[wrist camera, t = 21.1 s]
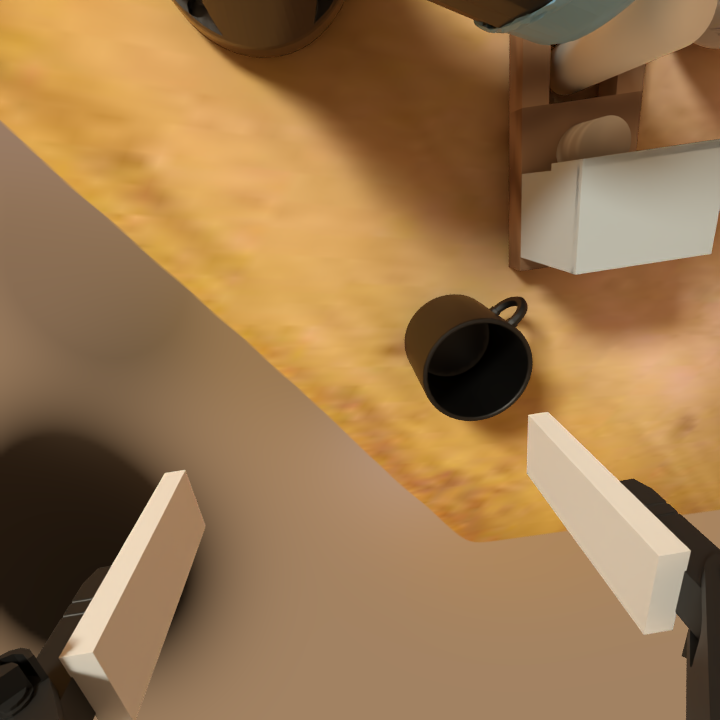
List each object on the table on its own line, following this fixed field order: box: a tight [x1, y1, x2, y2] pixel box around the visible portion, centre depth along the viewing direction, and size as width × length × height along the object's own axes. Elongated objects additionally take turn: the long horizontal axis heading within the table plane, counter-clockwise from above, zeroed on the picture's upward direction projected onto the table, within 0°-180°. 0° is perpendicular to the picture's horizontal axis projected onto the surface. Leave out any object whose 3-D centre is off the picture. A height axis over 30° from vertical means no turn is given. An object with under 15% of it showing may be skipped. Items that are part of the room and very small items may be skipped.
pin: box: [549, 0, 718, 95], centre depth 29 cm, size 4×4×12 cm
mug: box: [405, 295, 533, 421], centre depth 38 cm, size 9×12×9 cm
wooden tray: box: [509, 34, 646, 271], centre depth 34 cm, size 20×10×6 cm, turn 8°
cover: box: [521, 139, 720, 275], centre depth 32 cm, size 8×10×9 cm
